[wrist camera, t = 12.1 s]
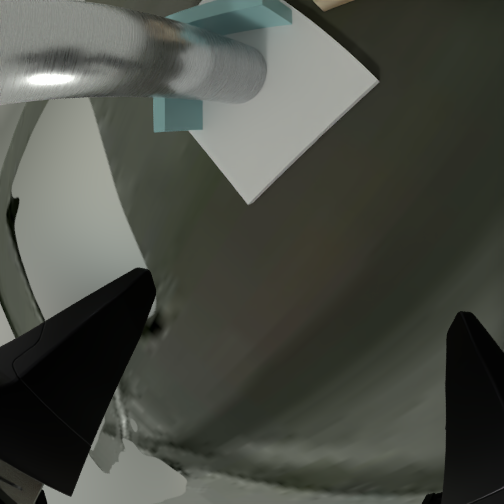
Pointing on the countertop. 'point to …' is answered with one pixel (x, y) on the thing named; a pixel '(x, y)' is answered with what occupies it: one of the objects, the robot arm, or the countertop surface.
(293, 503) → the countertop surface
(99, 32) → the silver metal cylinder
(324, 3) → the wooden frame
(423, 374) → the countertop surface
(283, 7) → the plate with teal chevron
